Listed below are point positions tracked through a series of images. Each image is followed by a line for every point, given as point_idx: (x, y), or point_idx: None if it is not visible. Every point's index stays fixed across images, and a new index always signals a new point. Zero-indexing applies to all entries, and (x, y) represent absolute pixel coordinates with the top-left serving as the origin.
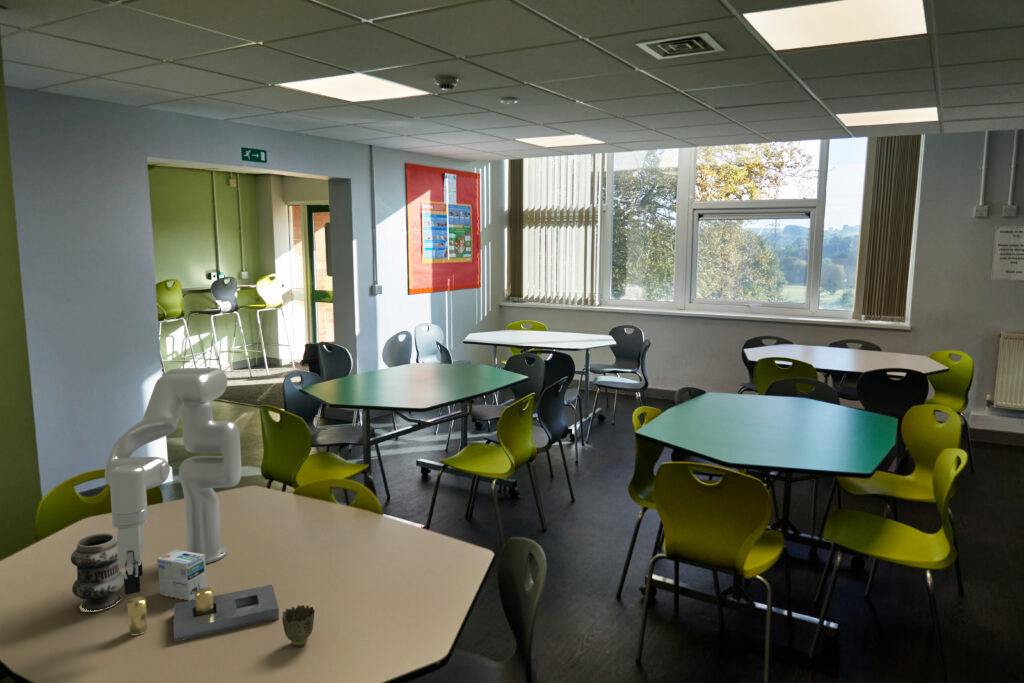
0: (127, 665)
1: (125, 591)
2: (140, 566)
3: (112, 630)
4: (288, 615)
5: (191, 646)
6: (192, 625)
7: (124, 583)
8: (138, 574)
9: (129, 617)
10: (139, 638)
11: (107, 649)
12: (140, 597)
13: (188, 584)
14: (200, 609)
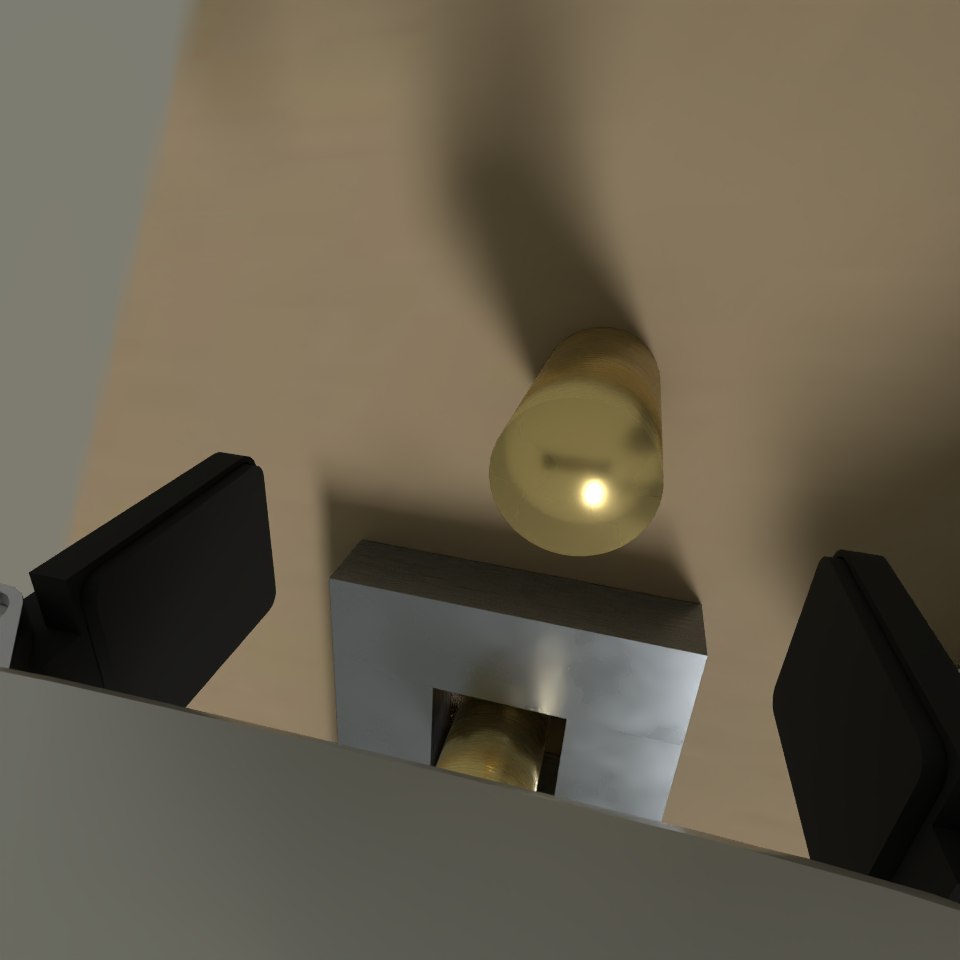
0: (209, 298)
1: (198, 472)
2: (809, 830)
3: (747, 205)
4: None
5: (286, 592)
6: (340, 662)
7: (108, 525)
8: (791, 688)
9: (553, 369)
10: (498, 382)
11: (450, 175)
12: (633, 522)
13: None
14: (444, 749)
